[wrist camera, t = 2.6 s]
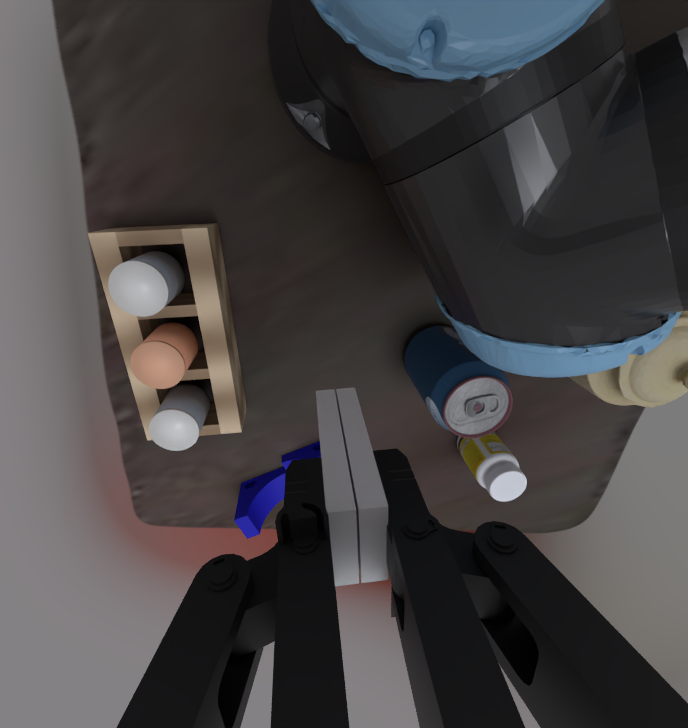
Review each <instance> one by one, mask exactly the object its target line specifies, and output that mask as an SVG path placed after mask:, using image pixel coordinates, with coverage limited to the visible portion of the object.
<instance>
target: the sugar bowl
mask: <svg viewBox="0 0 688 728" xmlns="http://www.w3.org/2000/svg"><path fill="white" fill-rule="evenodd" d="M569 378H571V379H572V380H574V381H575V382H576V383H578V384H579V385H581V386H582V387H583V388H585V389H586V390H588V391H589V392H591V393H592V394H594V395H595V396H597V397H599V398H600V399H602V400H603V401H606V402H608V403H611V404H615V405H635V404H636V405H639V406H643V407H656V406H660V405H663V404H665V403H668V402H671V401H673V400H675V399H677V398H679V397H680V396H682V395H684V394H685V393H687V392H688V311H681V314H680V316H679V318H678V319H677V321H676V324H675V326H674V327H673V329H672V331H671V333H670V334H669V336H668V337H667V338H666V339H665V340H664V341H663V342H662V343H661V344H660V345H659V346H657V347H656V348H655V349H653V350H651V351H650V352H648V353H646V354H645V355H635V354H628V360H627V362H626V363H625V364H624V365H621V366H619V367H616V368H612V369H609V370H605V371H602V372H597V373H593V374H587V375H580V376H572V377H569Z"/></svg>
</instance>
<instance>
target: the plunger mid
mask: <svg viewBox="0 0 688 728" xmlns="http://www.w3.org/2000/svg"><path fill="white" fill-rule="evenodd" d="M198 348H199V344H198V339H197V337H196V335H195V334H194V332H193V331H192V330H191V329H190V328H188V327H187V326H185V325H183V324H180V323H175V322H169V323H164V324H162V325H160V326H159V327H157V328H156V329H155V330H154V331H153V332H152V333H151V334H150V335H149V336H148V337H147V338H146V339H145V340H144V341H143V342H142V343H141V344H140V345H139V346H138V347H137V348H136V349H135V350H134V351H133V353H132V355H131V358H130V366H131V370H132V372H133V374H134V375H135V377H136V378H137V379H138V380H139V381H140V382H142V383H143V384H145V385H146V386H149V387H152V388H156V389H166V388H170V387H173V386H175V385H176V384H177V383H179V382H180V380H181V379H182V377H183V376H184V374H185V373H186V371H187V369H188V368H189V366H190V364H191V363H192V361H193V359H194V358H195V356H196V354H197V352H198Z"/></svg>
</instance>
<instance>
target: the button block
mask: <svg viewBox="0 0 688 728" xmlns="http://www.w3.org/2000/svg"><path fill="white" fill-rule="evenodd" d="M88 236H89V239H90V243H91V246H92V250H93V253H94V256H95V260H96V263H97V267H98V270H99V274H100V277H101V281H102V284H103V288H104V291H105V295H106V298H107V302H108V305H109V309H110V312H111V315H112V319H113V322H114V326H115V329H116V333H117V336H118V340H119V343H120V347H121V350H122V354H123V357H124V361H125V364H126V368H127V371H128V374H129V378H130V381H131V385H132V388H133V392H134V395H135V399H136V402H137V406H138V409H139V413H140V416H141V420H142V423H143V427H144V430H145V433H146V437H147V440H153V439H152V438H151V436H150V434H149V424H150V421H151V420H152V418H153V416H154V415H155V413H156V412H157V410H158V409H159V407H160V405H161V404H162V402H163V401H164V399H165V398H166V396H167V394H168V393H169V391H170V390H171V389H172V388H174V387H175V386H173V387H170V388H166V389H156V388H152V387H149V386H146V385H145V384H143V383H142V382H140V381H139V380H138V379H137V378H136V377H135V375H134V374H133V372H132V370H131V366H130V358H131V355H132V353H133V351H134V350H135V349H136V348H137V347H138V346H139V345H140V344H141V343H142V342H143V341H144V340H145V339H146V338H147V337H148V336H149V335H150V334H151V333H152V332H153V331H154V330H155V329H156V328H157V327H159V326H160V323H159V319H158V318H173V317H189V316H198V318H199V323H200V329H201V334H202V339H203V344H204V349H205V351H198V352H197V354H196V356H195V358H194V359H193V361H192V363H191V364H190V366H189V368H188V369H187V371H186V373H185V374H184V376H183V377H182V379H181V380H180V381H184V380H197V379H210V380H211V385H212V390H213V395H214V401H215V403H210V409H209V412H208V414H207V417H206V419H205V422H204V424H203V426H202V429H201V431H200V434H199V436H203V435H215V434H226V433H238V432H242V428H243V424H244V420H245V415H246V411H247V406H246V399H245V393H244V387H243V380H242V374H241V368H240V361H239V355H238V348H237V342H236V336H235V329H234V323H233V317H232V310H231V304H230V297H229V291H228V285H227V278H226V272H225V266H224V259H223V253H222V247H221V240H220V234H219V227H218V223H209V224H186V225H163V226H141V227H118V228H109V229H105V230H100V231H96V232H91V233H88ZM163 244H184V246H185V251H186V256H187V262H188V267H189V272H190V277H191V282H192V287H193V293H180V294H179V295H177V296H176V297H175V298H174V299H173V300H172V301H171V302H170V303H168V304H167V305H166V306H165V307H164V308H163V309H162V310H161V311H159V312H158V313H156V314H154V315H151V316H146V317H141V316H135V315H132V314H129V313H127V312H125V311H124V310H122V309H121V308H120V307H119V306H118V305H117V304H116V303H115V302H114V300H113V299H112V297H111V295H110V292H109V288H108V280H109V276H110V274H111V272H112V271H113V269H114V268H115V267H116V266H118V265H119V264H121V263H124V262H126V261H128V260H131V259H133V258H135V257H138V256H140V255H142V254H143V252H142V248H141V246H142V245H163Z"/></svg>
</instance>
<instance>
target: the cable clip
mask: <svg viewBox="0 0 688 728" xmlns="http://www.w3.org/2000/svg"><path fill="white" fill-rule="evenodd" d="M318 457H321V449H320V441H319V442H316V443H313V444H311V445H308V446H306V447H303V448H301V449H298V450H296V451H293V452H290V453H288V454H285V455H283V456H282V464H283V466H284V467H281V468H279V469H276V470H274V471H271V472H268V473H266V474H263V475H261V476H258V477H256V478H253V479H250V480H248V481H245V482H243V483H241V488H240V493H239V498H238V504H237V509H236V514H235V519H234V521H235V522H236V523H237V525H238V526H239V528H240V529H241V530H242V532H243V533H244V535H245V536H246V537H247V538H250V537H253V536H256V535H258V534H260V530H261V527H262V524H263V522H264V520H265V518H266V516H267V515H268V513H269V512H270V511H271V510H272V508H273V507H274V506H275V505H276V504H277V503H278V502H280V501H281V500H282V499H284V494H285V471H286V469H287V467H288V466H289V464H290V463H291V461H292V460H298V459H308V458H318Z"/></svg>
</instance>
